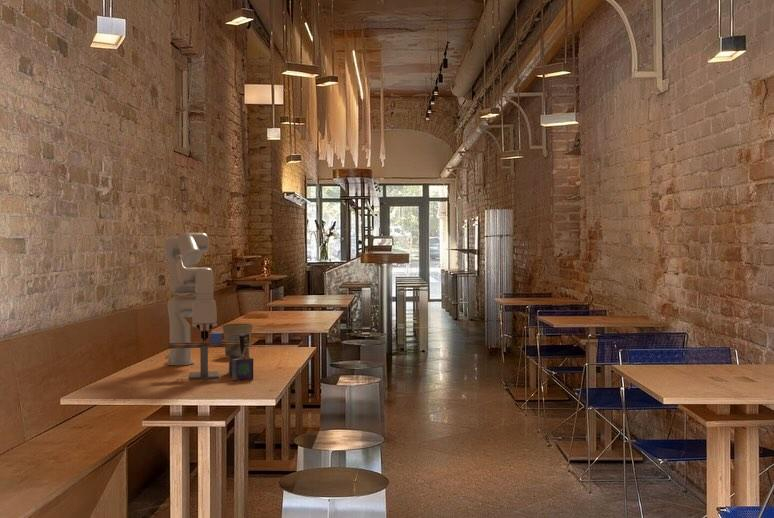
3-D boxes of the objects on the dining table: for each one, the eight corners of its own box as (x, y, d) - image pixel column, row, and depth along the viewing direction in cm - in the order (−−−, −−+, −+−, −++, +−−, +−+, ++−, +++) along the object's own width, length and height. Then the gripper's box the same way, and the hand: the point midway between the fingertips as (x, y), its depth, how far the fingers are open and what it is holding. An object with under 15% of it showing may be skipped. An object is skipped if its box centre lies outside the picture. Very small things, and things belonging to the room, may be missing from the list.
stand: (189, 379, 350) (189, 347, 350) (189, 374, 364) (189, 343, 364) (237, 378, 355) (236, 345, 354) (235, 373, 368) (235, 342, 368)
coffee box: (242, 372, 371) (242, 335, 370) (228, 371, 372) (228, 335, 372) (249, 369, 380) (249, 333, 379) (236, 368, 381) (236, 333, 381)
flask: (233, 381, 346) (233, 355, 346) (230, 380, 349) (230, 354, 348) (254, 379, 351) (254, 354, 351) (251, 378, 353) (251, 353, 353)
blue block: (210, 344, 356) (210, 333, 356) (209, 343, 361) (209, 332, 360) (222, 344, 357) (222, 333, 357) (221, 343, 362) (221, 332, 362)
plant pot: (258, 355, 426) (258, 324, 425) (239, 358, 413) (238, 326, 412) (236, 353, 433) (235, 322, 433) (216, 356, 420) (216, 325, 420)
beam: (167, 358, 351) (167, 345, 351) (168, 355, 359) (167, 342, 359) (240, 356, 358) (240, 343, 358) (239, 353, 366) (239, 341, 365)
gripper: (186, 298, 353) (186, 341, 353) (222, 297, 356) (222, 340, 356) (186, 296, 360) (186, 339, 360) (222, 296, 363) (222, 338, 363)
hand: (204, 340), depth 358 cm, fingers closed
